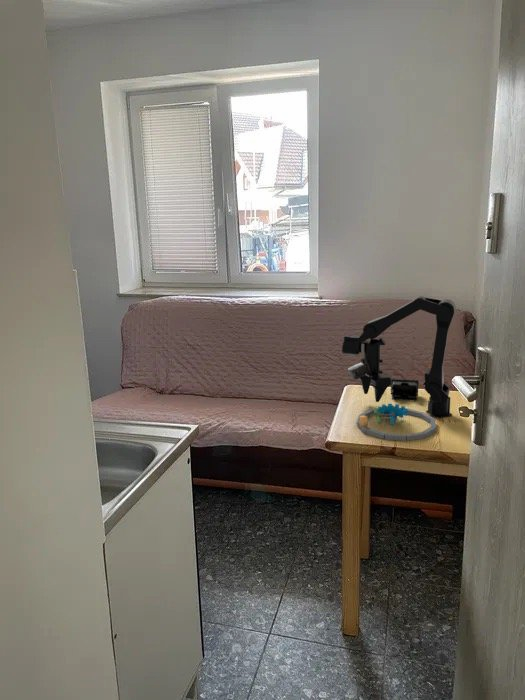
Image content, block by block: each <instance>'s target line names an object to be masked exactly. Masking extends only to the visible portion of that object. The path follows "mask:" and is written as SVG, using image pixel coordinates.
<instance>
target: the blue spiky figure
mask: <svg viewBox="0 0 525 700" xmlns="http://www.w3.org/2000/svg"><path fill="white" fill-rule="evenodd" d="M405 408H406V406H404V405H401V406H400V404H397V403H396V404H394V405H393V404H392V403H388V404H387V405H386V404H384V403H383V404H381V406H378V410H377V409H376V408H373V409H374V415H376V417H377V423H378V424H380V422H381V418H387V419H389V418H390V426H394V424H395V423H394V422H395V419H397V418H398V417H399V418H401V419H402V418H403V417H404V416H406V417H407V416H408V414H407V413H408V410H407V409H405Z"/></svg>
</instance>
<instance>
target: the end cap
mask: <svg viewBox="0 0 525 700" xmlns="http://www.w3.org/2000/svg"><path fill="white" fill-rule="evenodd" d="M391 379H392V385H390V395H391V400H393V399H394V400H393V401H395V400H397V401H410V400H414V402H416V400H417V397H418V396H419V381H420V380H418V379H398V378H397V379H396V378H391ZM417 401H418V400H417Z"/></svg>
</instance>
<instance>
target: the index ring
mask: <svg viewBox="0 0 525 700" xmlns="http://www.w3.org/2000/svg"><path fill="white" fill-rule="evenodd" d="M374 409H377V410H378V408H371V409H368V410H366V411H363V412H362V413H360V414H358V415H357V421H356V427H357V428H358V429H359V430H361V431H362V432H363V433H364V434H366V435H368V436H372V437H375V438H379V439H381V440H390V441H400V440H401V441H402V442H408V441H414V440H422V439H427V438H428V437H430V436H431V435H433V434H434V433H436V432H437V421H436V418H435V417H433V416H432V415H430V414H428V413H427V412H423V411H419V410H417V409H416V410H415V409H411V408H406V407H405V409H407V410H408V413H407V415H409V416H413V417H417V418H421V419H422V420H424V421H426V422H427V423H428V424H430V426H429V427H428V428H426V429H425V430H423V431H419V432H418V431H417V432H412V433H406V434H405V433H404V434H403V433H389V432H384V431H380V430H376V429H373V428H370V427H369V426H368V418H370V417H371V416H373V415H375V414H374Z"/></svg>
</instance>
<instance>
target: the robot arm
mask: <svg viewBox="0 0 525 700" xmlns="http://www.w3.org/2000/svg"><path fill="white" fill-rule="evenodd" d="M456 307H457V305H456V303H455V302H454V301H452V300H451V299H442V300H441V299H438V298H431V297H425V296H422V295H419V296H417V297H415V298H414V299H413V300H411V301H410V302H408V303H406V304H404V305H403V306H400V307H399V308H397V309H395V310H393V311H392V312H390V313H388V314H386V315H383V316H379V317H377V318H374V319H371V320H370V321H368V322H367V323H366V324H365V325H364V326H363V329H362V333H361V334H360V335H359V336H356V335H355V336H352V335H348V334H347V335H344V337H343V343H342V346H341V349H342V354H343V355H346V356H347V355H348V356H349V355H350V356H360V354H361V353H363V357H362V358H361V359H360V362H359V363H356V364H354V365H352V366H350V367H349V368H347V370H348V373H349V376H350V378H352V379H353V380H358V379H359V381H360V383H361V387H362V390H363V393H364V395H367V394H368V393H369V390H370V387H372V388H373V390H374V398H375V403H379V402H380V401H381V399H382V397H383V395H384V394H385V392H386V390H387V388H388V387H391V385H392V379H393V378H391V377H390V376H388V375H387V374H383V370H382V369H381V363H384V362H383V361H384V360H383V359H382V358H381V347H382V346H385V345H386V344H387V340H385V339H384V338H383V336H380V335H381V334H382V333H384V332H385V331H386V330H387V329H388V328H390V327H391V326H392V325H395V324H396V323H399V322H400V321H402V320H404V319H406V318H408V317H409V316H411V315H413V314H414V313H416V312H418V311H422V312H423V311H424V312H426V313H429V314H432V315H435V320H436V321H435V322H436V333H435V341H434V346H433V347H434V348H433V353H432V361H431V368H430V369H429V368H426V370H425V371H424V381H423V383H422V385H423V386H424V390H425V391H426V393H427V394H429V396H428V397H429V399H428V403H427V410H425V413H426V414H428V415H429V416H431V417H432V418H434V419H439V418H440V419H441V418H447V417H452V416H453V414H452V413H451V410H450V409H451V396H449V395H450V391H451V388H450V386H448V385H447V384H446V383H445V376H444V362H445V355H446V349H447V343H448V336H449V330H450V326H451V323H452V321H453V317H454V315H455V312H456ZM378 336H380V338H378Z"/></svg>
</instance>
